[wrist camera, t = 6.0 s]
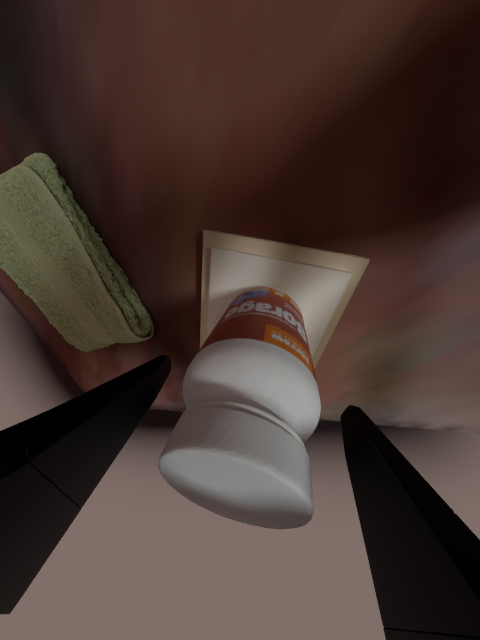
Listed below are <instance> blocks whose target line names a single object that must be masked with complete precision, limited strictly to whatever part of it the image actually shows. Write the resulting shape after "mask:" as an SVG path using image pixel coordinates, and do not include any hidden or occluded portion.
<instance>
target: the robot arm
mask: <svg viewBox="0 0 480 640" xmlns="http://www.w3.org/2000/svg"><path fill="white" fill-rule="evenodd" d="M170 371H171V360H170V357H169V356H165V355H161V356H159V357H157V358H155V359H152V360H150V361H148V362H146V363H144V364H142V365H140V366H138V367H136V368H134V369H132V370H130V371H128V372H126V373H124V374H122V375H120V376H118V377H116V378H114V379H112V380H110V381H108V382H106V383H104V384H102V385H100V386H98V387H96V388H94V389H91V390H89V391H87V392H85V393H83V394H81V395H80V396H77V397H75V398H74V399H71V400H69V401H67V402H65V403H63V404H61V405H58V406H56V407H54V408H52V409H50V410H48V411H46V412H43V413H41V414H39V415H37V416H34V417H32V418H30V419H28V420H25V421H23V422H20V423H18V424H16V425H13V426H11V427H9V428H6V429H4V430H2V431H0V614H10V613H11V611H12V610H13V608H14V607H15V606H16V604H17V603H18V602H19V600H20V599H21V597H22V596H23V594H24V593H25V591H26V590H27V588H28V587H29V585H30V584H31V582H32V581H33V579H34V578H35V577H36V575H37V574H38V572H39V571H40V569H41V568H42V566H43V565H44V563H45V562H46V560H47V559H48V557H49V556H50V554H51V553H52V551H53V550H54V548H55V547H56V546H57V544H58V542H59V541H60V540H61V538H62V537H63V535H64V534H65V532H66V531H67V529H68V528H69V526H70V525H71V523H72V522H73V520H74V519H75V517H76V516H77V514H78V513H79V512H80V510H81V508H82V507H83V505H84V504H85V502H86V501H87V499H88V498H89V497H90V495H91V494H92V492H93V491H94V489H95V488H96V486H97V485H98V483H99V482H100V480H101V479H102V477H103V476H104V474H105V473H106V471H107V470H108V468H109V467H110V465H111V464H112V463H113V461H114V459H115V458H116V457H117V455H118V454H119V452H120V451H121V449H122V448H123V446H124V444H125V443H126V442H127V440H128V439H129V437H130V436H131V435H132V433H133V432H134V430H135V429H136V427H137V425H138V424H139V423H140V421H141V420H142V418H143V417H144V415H145V414H146V412H147V411H148V409H149V408H150V406H151V405H152V403H153V402H154V400H155V399H156V397H157V395H158V394H159V392H160V390H161V388H162V386H163V384H164V382H165V381H166V379H167V377H168V375H169V373H170ZM341 426H342V434H343V442H344V450H345V457H346V461H347V466H348V471H349V475H350V480H351V484H352V488H353V493H354V498H355V502H356V507H357V511H358V516H359V520H360V524H361V529H362V533H363V538H364V542H365V547H366V551H367V556H368V560H369V565H370V569H371V574H372V578H373V583H374V587H375V592H376V596H377V600H378V605H379V610H380V614H381V619H382V623H383V626H384V633H385V637H386V640H480V540H479V539H478V538H477V536H476V535H475V534H474V533H473V532H472V531H471V530H470V529H469V528H468V527H467V525H465V523H464V522H463V521H462V520H461V519H460V518H459V517H458V516H457V515H456V514H454V512H453V510H452V509H451V508H450V507H449V506H448V505H447V503H445V501H444V500H443V499H442V498H441V497H440V496H439V495H438V494H437V492H436V491H435V490H434V489H433V488H432V487H431V486H430V485H429V484H428V482H427V481H426V480H425V479H424V478H423V477H422V476H421V475H420V474H419V472H418V471H417V470H416V469H415V468H414V467H413V466H412V465H411V464H410V463H409V461H408V460H407V459H406V458H405V457H404V456H403V455H402V454H401V453H400V451H399V450H398V449H397V448H396V447H395V446H394V445H393V444H392V443H391V442H390V440H389V439H388V438H387V437H386V436H385V435H384V434H383V433H382V432H381V430H380V429H379V428H378V427H377V426H376V425H375V424H374V423H373V422H372V421H371V419H370V418H369V417H368V416H367V415H366V414H365V413H364V412H363V411H362V409H360V408H359V407H356V406H352V405H349V406H348V407H347V408H346V409H345V411H344V412H343V413H342V415H341Z"/></svg>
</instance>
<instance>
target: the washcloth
mask: <svg viewBox="0 0 480 640" xmlns="http://www.w3.org/2000/svg"><path fill="white" fill-rule="evenodd" d="M98 236H99V235H98V234H97V233H96V232H95V229H94V227H92V226H91V225H90V223H89V220H88V219H87V216H86V214H84V212H83V211H82V210H81V209H80V207H79V205H78V204H77V203H76V201H75V200H74V198H73V194H72V192H71V190H70V188H69V187H68V186H67V185H66V184H65V181H64V179H63V178H62V177H61V176H60V174H59V173H58V170H57V165H56V164H55V163H54V162H53V161H52V160H51V159H50V157H49V156H48V155H47V154H44V153H34V154H32V155H30V156H28V157H27V158H26V159H24V161H23V162H22V163H21V164H19V165H17V166H15V167H13V168H12V169H9V170H8V171H7V172H4V173H3V174H0V267H1V269H2V270H4V271H5V272H6V273H7V274H8V275H9V276H10V277H11V278H12V280H13V281H15V282H16V284H19V285H18V287H19V288H20V289H23V291H24V293H25V295H28V296H29V297H30V298H32V300H33V301H34V302H35V304H36V305H37V306H38V308H40V310H41V311H42V312H43V313H44V315H45V317H47V319H48V321H49V323H50V324H52V325H53V326H54V327H55V328H56V329H57V331H58V332H59V333H60V334H62V336H63V337H64V339H65V340H66V341H67V342H68V343H69V344H71V345H73V346H75V347H76V348H78V349H79V350H81V351H84V352H91V351H93V350H97V349H101V348H103V347H108V346H110V345H114V343H126V344H128V343H138V342H140V341H146V340H147V339H150V338H151V337H152V336H153V334H154V326H153V323H152V320H151V318H150V315H149V314H148V312H147V310H146V309H145V307H144V306H143V305H142V303H141V301H140V299H139V297H138V295H137V294H136V292H135V290H134V289H133V288H132V287H131V286H130V285H129V282H128V279H127V277H126V276H125V274H124V273H123V271H122V270H121V268H120V267H119V266H118V264H117V263H116V261H115V260H114V259H113V258H112V256H111V255H110V253H109V252H108V249H106V247H105V245H104V244H103V243H102V238H100V237H98Z"/></svg>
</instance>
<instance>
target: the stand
mask: <svg viewBox="0 0 480 640" xmlns="http://www.w3.org/2000/svg"><path fill="white" fill-rule="evenodd" d="M369 261H370V259H368V258H365V257H362V256H356V255H350V254H345V253H339V252H333V251H328V250H322V249H316V248H311V247H305V246H299V245H293V244H288V243H282V242H276V241H271V240H265V239H259V238H254V237H248V236H242V235H237V234H231V233H225V232H219V231H214V230H203V257H202V291H201V325H200V348H201V347H202V345H203V344H204V342H205V341H206V339H207V338H208V336H209V335H210V333H211V332H212V330H213V329H214V327H215V326H216V324H217V323H218V322H219V320H220V319H221V317H222V316H223V314H224V313H225V311H226V310H227V308H228V307H229V305H230V304H231V302H232V301H233V300H234V299H235V298H236V296H238V295H239V294H240V293H241V292H243V291H245V290H247V289H250V288H253V287H258V286H269V287H274V288H277V289H280V290H282V291H284V292H286V293H287V294H289V295H290V296H291V297H292V298H293V299H294V300H295V301H296V303H297V304H298V306H299V308H300V310H301V313H302V317H303V321H304V326H305V330H306V335H307V340H308V344H309V349H310V353H311V358H312V362H313V367H314V369H315V367H316V365H317V363H318V361H319V359H320V357H321V355H322V353H323V351H324V349H325V347H326V345H327V343H328V341H329V339H330V337H331V335H332V333H333V331H334V329H335V327H336V326H337V324H338V322H339V320H340V318H341V316H342V314H343V312H344V310H345V308H346V306H347V304H348V302H349V300H350V298H351V296H352V294H353V292H354V290H355V288H356V286H357V284H358V282H359V280H360V278H361V277H362V275H363V273H364V271H365V269H366V267H367V265H368V263H369Z"/></svg>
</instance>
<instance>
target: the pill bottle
mask: <svg viewBox="0 0 480 640" xmlns="http://www.w3.org/2000/svg"><path fill="white" fill-rule="evenodd" d="M183 399H184V403H185V406H186V410H185V411H184V413H183V414H182V416H181V418H180V420H179V421H178V423H177V424H176V426H175V428H174V430H173V432H172V434H171V436H170V438H169V440H168V442H167V444H166V446H165V448H164V450H163V451H162V453H161V456H160V458H159V464H158V465H159V470H160V472H161V474H162V476H163V478H164V479H165V480H166V481H167V482H168V483H169V485H171V486H172V487H173V488H174V489H175V490H176V491H178V492H179V493H180V494H181V495H183V496H184V497H186V498H187V499H188V500H190V501H192V502H194V503H196V504H198V505H199V506H201V507H203V508H206V509H208V510H210V511H212V512H214V513H216V514H218V515H221V516H223V517H226V518H229V519H232V520H235V521H239V522H242V523H246V524H250V525H254V526H259V527H265V528H273V529H290V528H297V527H301V526H303V525H306V524H307V523H308V522H309V521H310V520H311V518H312V516H313V511H314V509H313V508H314V506H313V494H312V484H311V473H310V472H311V471H310V461H309V457H308V455H307V453H306V449H305V446H304V444H303V443H304V442H305V441H306V440H307V439H308V438H309V437H310V436H311V434H312V433H313V432H314V430H315V428H316V426H317V424H318V421H319V417H320V411H321V403H320V397H319V391H318V386H317V381H316V376H315V371H314V367H313V362H312V358H311V353H310V349H309V344H308V340H307V335H306V330H305V326H304V321H303V317H302V313H301V310H300V308H299V306H298V304H297V303H296V301H295V300H294V299H293V298H292V297H291V296H290V295H289V294H287V293H286V292H284V291H282V290H280V289H277V288H274V287H269V286H258V287H253V288H250V289H247V290H245V291H243V292H241V293H240V294H239V295H238V296H236V298H235V299H234V300H233V301H232V302H231V304H230V305H229V307H228V308H227V310H226V311H225V313H224V314H223V316H222V317H221V319H220V320H219V322H218V323H217V324H216V326H215V327H214V329H213V330H212V332H211V333H210V335H209V336H208V338H207V339H206V341H205V342H204V344H203V345H202V347H201V348H200V350H199V351H198V353H197V354H196V356H195V357H194V359H193V360H192V362H191V363H190V365H189V367H188V369H187V371H186V374H185V376H184V380H183Z"/></svg>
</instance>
